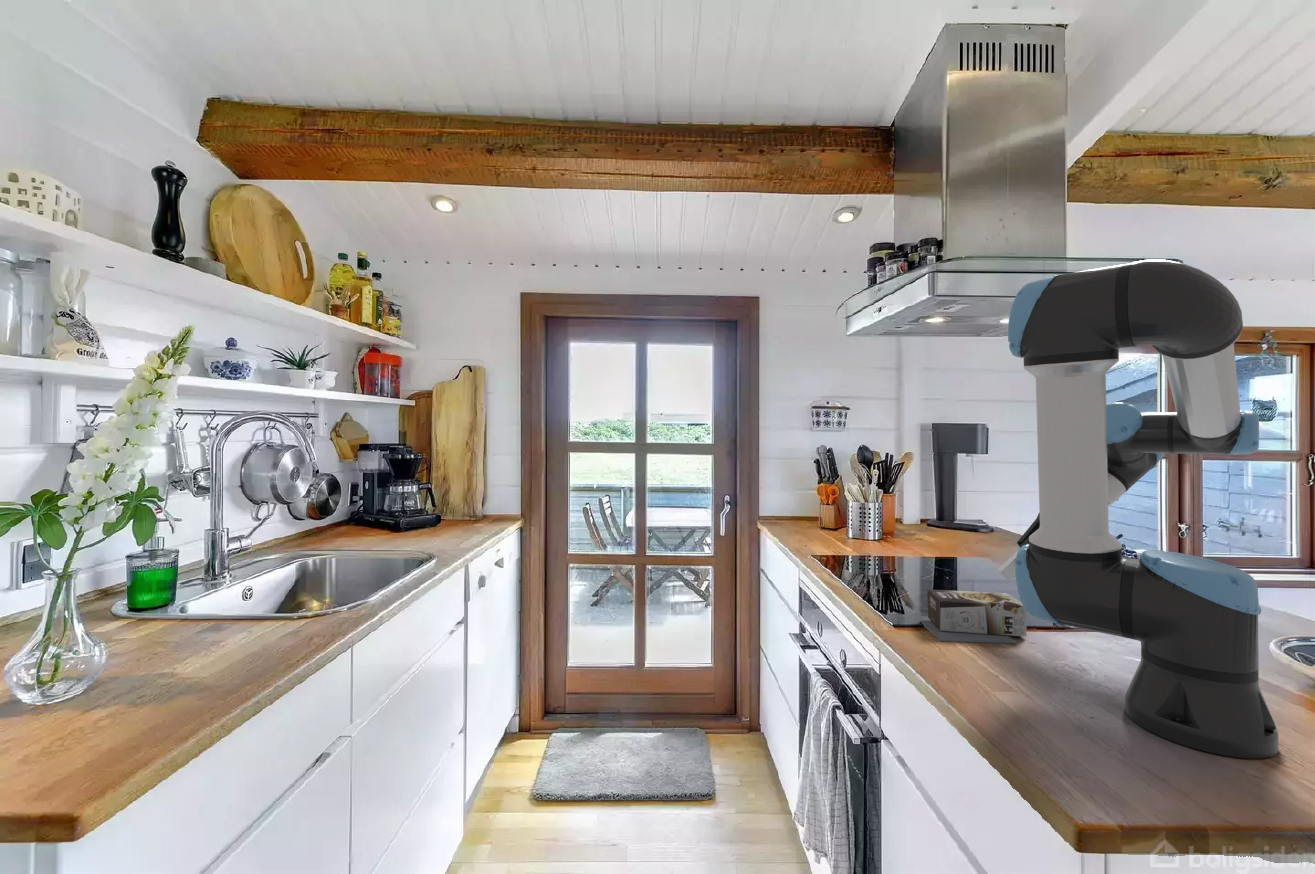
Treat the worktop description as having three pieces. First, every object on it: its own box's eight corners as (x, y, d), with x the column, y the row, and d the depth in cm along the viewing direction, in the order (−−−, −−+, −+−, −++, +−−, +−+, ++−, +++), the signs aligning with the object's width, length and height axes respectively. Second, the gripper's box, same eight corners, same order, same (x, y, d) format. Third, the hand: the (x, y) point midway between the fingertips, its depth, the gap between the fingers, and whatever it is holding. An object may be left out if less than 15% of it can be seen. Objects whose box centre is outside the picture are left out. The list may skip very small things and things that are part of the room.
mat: (987, 624, 119) (987, 622, 119) (1016, 643, 108) (1016, 641, 108) (919, 622, 120) (919, 620, 120) (940, 641, 109) (940, 639, 109)
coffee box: (1027, 605, 110) (939, 600, 113) (1027, 637, 110) (939, 632, 113) (1007, 591, 119) (926, 588, 122) (1007, 621, 119) (926, 617, 122)
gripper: (1128, 512, 106) (1036, 598, 108) (1082, 504, 119) (1000, 580, 121) (1099, 484, 107) (1007, 570, 108) (1056, 479, 120) (975, 555, 121)
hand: (1003, 575), depth 114 cm, fingers closed
